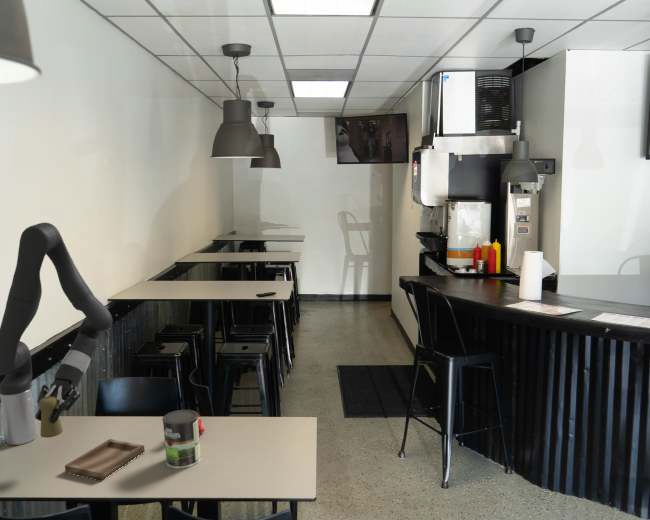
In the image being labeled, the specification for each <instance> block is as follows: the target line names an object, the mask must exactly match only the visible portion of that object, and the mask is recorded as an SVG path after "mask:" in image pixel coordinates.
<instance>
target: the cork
mask: <svg viewBox="0 0 650 520" xmlns="http://www.w3.org/2000/svg"><path fill="white" fill-rule="evenodd" d="M56 405H57V398H56V397H54V396H48V397H44V398H42V399H41V400H40V401H39V403H38V408H39V409H41V421H40V437H41V438H45V439H46V438H54V437H57V436H60V435H61V434H62V433H63V432H64V430H63V426H62V422H61V419H60V417H59V418H58V420H57V421H56V422H55V423H54V424H53V423H51V422H49V421H48V419H49V418H50V416H51V414H52V412H53V410H54V409H56V408H55V407H56Z"/></svg>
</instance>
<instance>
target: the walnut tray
mask: <svg viewBox="0 0 650 520" xmlns="http://www.w3.org/2000/svg"><path fill="white" fill-rule="evenodd" d="M143 452H145V445H142V444H139V443H133V442H127V441H123V440H117V439H112V438H109V439H107V440H105V441H104V442H102V443H100V444H98V446H96V447H94V448H91V450H89V451H87V452H85V453H83V454H82V455H80V456H79V457H77V458H75V459H73V460H72V461H69V462H68V463H66V464H65V465H64V469H65V474H68V473H70V474H69V475H72V474H75V475H74V476H76V475H79V476H78V477H81V476H84V477H83V478H85V477H88V478H87V479H90V478H92V479H91V480H94V479H96V480H95V481H98V480H101V481H100V482H103V481H104V479H105V478H106V477H108V476H109V475H111V474H112V473H113V472H115V471H116V470H118V469H119V468H121V467H122V466H124V465H125V464H127V463H128V462H130V461H131V460H133V459H134V458H135V457H137V456H138V455H140V454H141V453H143ZM133 461H134V460H133ZM130 463H131V462H130ZM127 465H128V464H127ZM124 467H125V466H124ZM121 469H122V468H121ZM118 471H119V470H118ZM115 473H116V472H115ZM112 475H113V474H112ZM112 475H111V476H112ZM109 477H110V476H109ZM109 477H108V478H109ZM106 479H107V478H106ZM106 479H105V480H106ZM102 480H103V481H102Z"/></svg>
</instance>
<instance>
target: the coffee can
mask: <svg viewBox="0 0 650 520" xmlns="http://www.w3.org/2000/svg"><path fill="white" fill-rule="evenodd" d="M198 415H199V414H198V412H197V411H195V410H192V409H178V410H173V411H170V412H168V413H166V414H165V415H164V416H163V417H162V420H161V421H162V424H163V433H164V447H165V458H166V462H165V463H166V465H167V467H169V468H171V469H175V470H176V469H177V470H179V469H187V468H191V467H193V466H195V465H197V464H198V463H199V462H201V459H202V458H201V457H202V455H201V446H200V445H201V444H200V435H199V429H198V420H199V419H198V418H199V416H198Z"/></svg>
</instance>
